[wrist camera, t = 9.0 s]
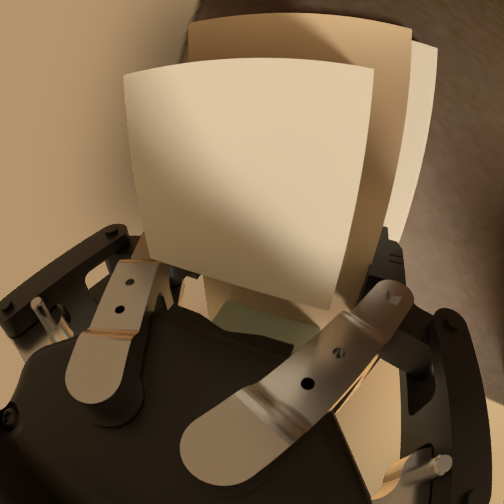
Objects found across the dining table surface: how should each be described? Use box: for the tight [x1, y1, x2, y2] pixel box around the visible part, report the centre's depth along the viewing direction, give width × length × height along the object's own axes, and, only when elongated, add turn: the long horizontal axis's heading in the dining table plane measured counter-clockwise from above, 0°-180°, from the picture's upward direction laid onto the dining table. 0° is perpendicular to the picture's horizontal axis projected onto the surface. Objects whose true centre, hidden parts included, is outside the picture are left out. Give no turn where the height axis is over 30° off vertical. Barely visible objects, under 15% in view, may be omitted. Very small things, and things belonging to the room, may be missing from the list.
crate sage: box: [212, 300, 320, 355], centre depth 11 cm, size 4×4×4 cm
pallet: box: [188, 13, 412, 330], centre depth 11 cm, size 16×6×4 cm, turn 0°
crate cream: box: [123, 58, 374, 311], centre depth 6 cm, size 4×4×4 cm
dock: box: [383, 41, 437, 243], centre depth 17 cm, size 18×12×3 cm, turn 179°
